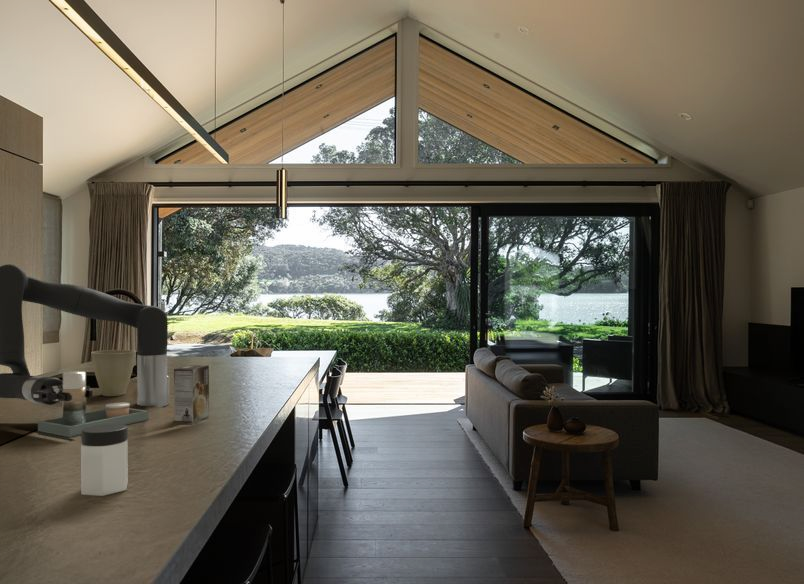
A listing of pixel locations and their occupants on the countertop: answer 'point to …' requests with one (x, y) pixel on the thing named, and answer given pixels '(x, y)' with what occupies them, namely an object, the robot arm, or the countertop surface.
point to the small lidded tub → (117, 409)
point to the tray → (89, 423)
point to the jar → (104, 459)
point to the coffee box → (191, 393)
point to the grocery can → (74, 398)
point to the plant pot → (113, 370)
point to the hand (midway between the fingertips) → (80, 395)
